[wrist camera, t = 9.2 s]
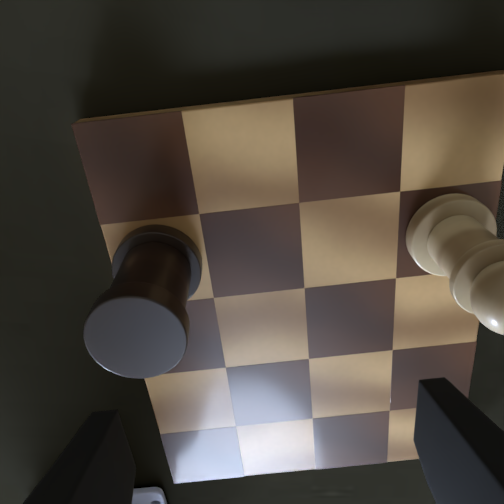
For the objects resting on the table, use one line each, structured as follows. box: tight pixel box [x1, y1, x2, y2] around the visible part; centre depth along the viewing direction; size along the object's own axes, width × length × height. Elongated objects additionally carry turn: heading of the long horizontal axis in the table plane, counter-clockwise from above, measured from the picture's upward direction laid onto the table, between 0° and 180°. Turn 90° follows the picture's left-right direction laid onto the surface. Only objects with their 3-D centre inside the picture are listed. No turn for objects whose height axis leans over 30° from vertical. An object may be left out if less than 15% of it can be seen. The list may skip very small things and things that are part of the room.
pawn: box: [406, 193, 504, 335], centre depth 16 cm, size 3×3×6 cm
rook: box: [83, 224, 202, 378], centre depth 17 cm, size 4×4×5 cm
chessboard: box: [71, 70, 504, 484], centre depth 21 cm, size 20×16×1 cm
